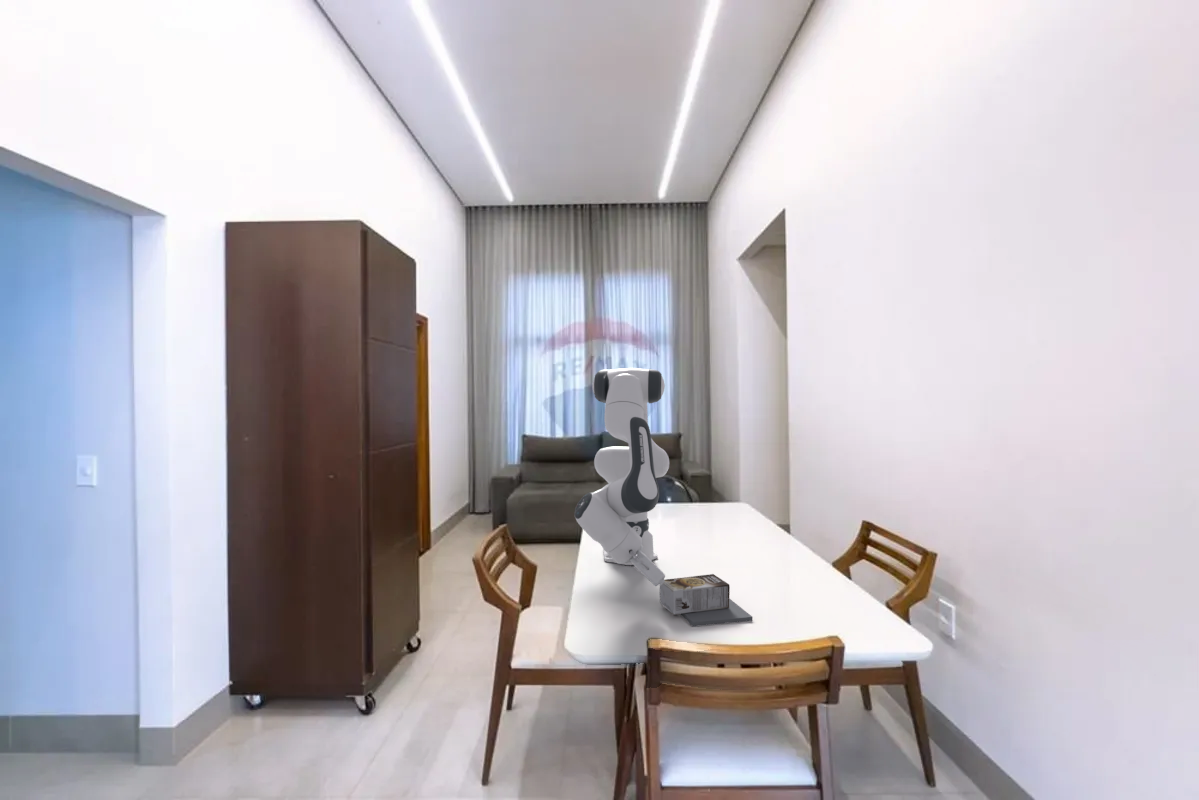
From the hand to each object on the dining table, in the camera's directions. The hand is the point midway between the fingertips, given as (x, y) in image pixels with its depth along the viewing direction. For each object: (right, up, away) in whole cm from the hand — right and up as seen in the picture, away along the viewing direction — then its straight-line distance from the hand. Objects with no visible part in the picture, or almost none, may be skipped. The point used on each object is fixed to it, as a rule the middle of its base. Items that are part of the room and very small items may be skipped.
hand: (661, 581), depth 140 cm
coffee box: (+1, -4, 0) cm, 4 cm away
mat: (+13, -8, +3) cm, 15 cm away
